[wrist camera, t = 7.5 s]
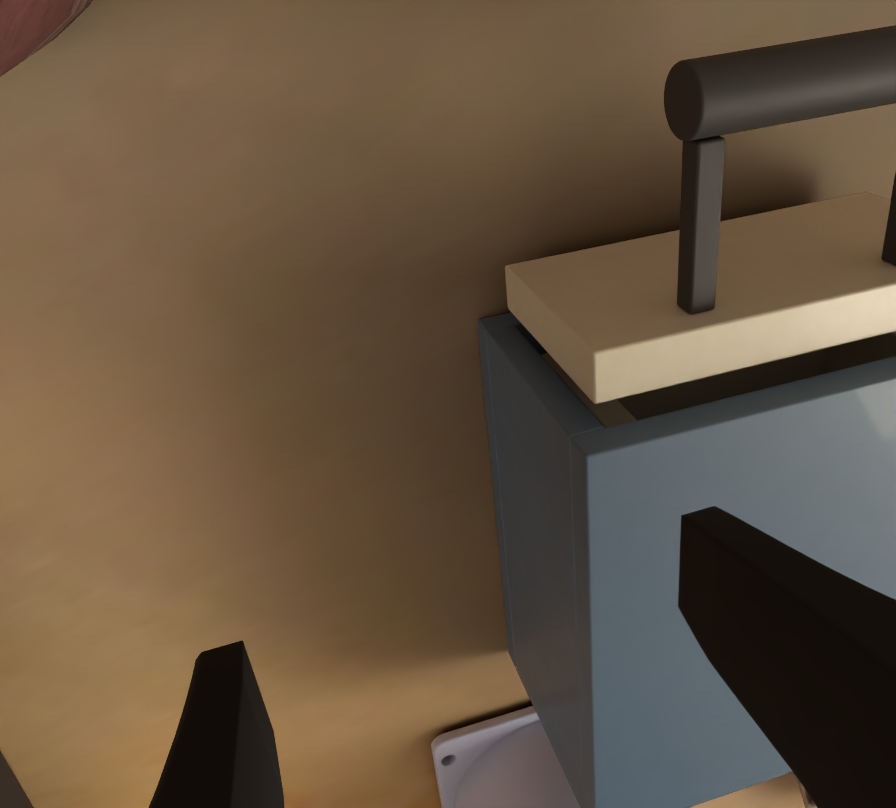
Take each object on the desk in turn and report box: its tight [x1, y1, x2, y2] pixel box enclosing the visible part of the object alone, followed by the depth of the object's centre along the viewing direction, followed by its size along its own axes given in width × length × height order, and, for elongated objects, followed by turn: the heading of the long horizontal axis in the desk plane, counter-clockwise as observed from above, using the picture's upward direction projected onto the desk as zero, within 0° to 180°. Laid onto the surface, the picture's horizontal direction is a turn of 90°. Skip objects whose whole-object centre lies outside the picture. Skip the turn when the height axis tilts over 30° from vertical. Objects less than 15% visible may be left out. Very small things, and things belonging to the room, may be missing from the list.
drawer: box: [505, 26, 896, 429], centre depth 21 cm, size 16×10×5 cm, turn 6°
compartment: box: [477, 312, 896, 808], centre depth 23 cm, size 13×12×7 cm
